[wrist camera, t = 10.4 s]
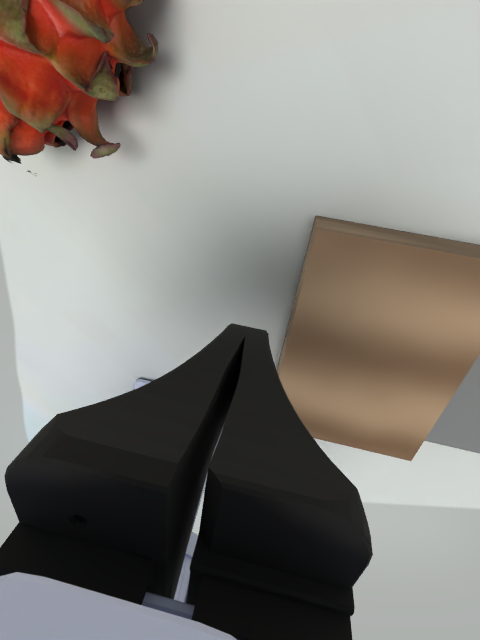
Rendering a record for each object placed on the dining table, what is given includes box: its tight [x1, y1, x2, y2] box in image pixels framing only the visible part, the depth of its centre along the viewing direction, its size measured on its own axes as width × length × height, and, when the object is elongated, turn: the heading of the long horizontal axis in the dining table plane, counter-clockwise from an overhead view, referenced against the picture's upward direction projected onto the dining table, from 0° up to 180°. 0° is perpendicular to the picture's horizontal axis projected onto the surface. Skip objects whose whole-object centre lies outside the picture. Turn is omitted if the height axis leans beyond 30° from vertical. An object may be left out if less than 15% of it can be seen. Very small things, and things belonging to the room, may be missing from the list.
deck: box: [277, 216, 480, 461], centre depth 20 cm, size 14×10×3 cm
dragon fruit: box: [0, 0, 158, 176], centre depth 13 cm, size 8×8×12 cm
